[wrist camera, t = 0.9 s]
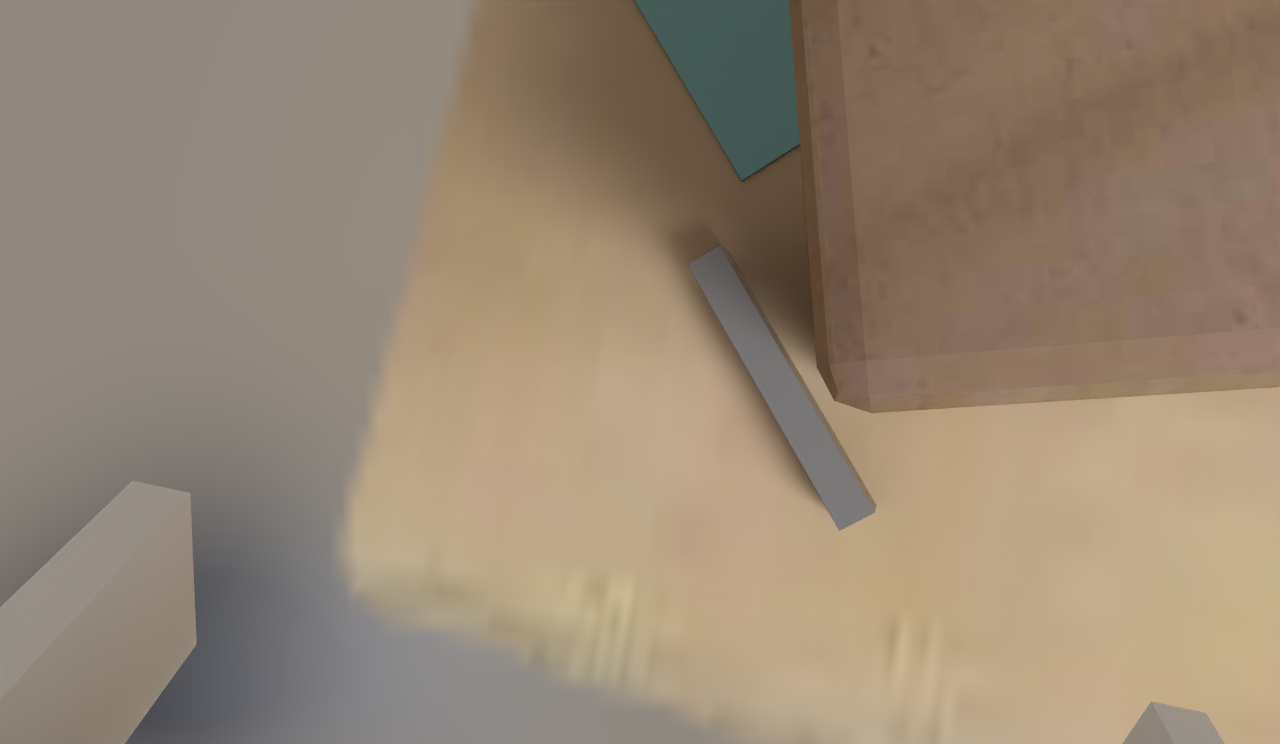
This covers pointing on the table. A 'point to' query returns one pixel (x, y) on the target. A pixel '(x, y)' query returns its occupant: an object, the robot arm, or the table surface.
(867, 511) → the chute
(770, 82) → the mat
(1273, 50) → the wooden block
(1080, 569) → the table surface
